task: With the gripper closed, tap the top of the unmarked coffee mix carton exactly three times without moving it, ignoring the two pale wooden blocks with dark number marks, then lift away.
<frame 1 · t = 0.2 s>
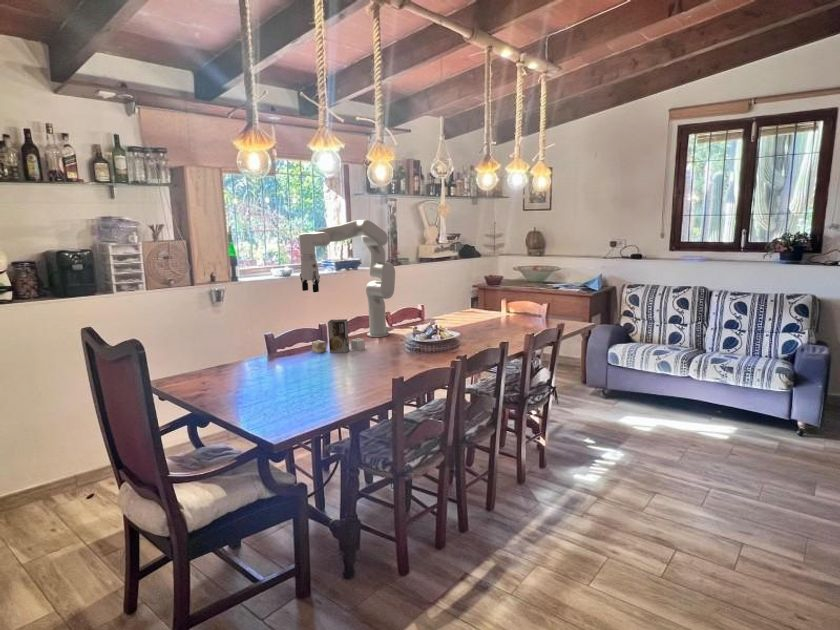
hand: (310, 291, 273), 31 cm above the table, fingers open, 9 cm apart
birch block marked: (319, 351, 276), on the table
grey block marked: (358, 349, 279), on the table
coffee box: (339, 351, 276), on the table
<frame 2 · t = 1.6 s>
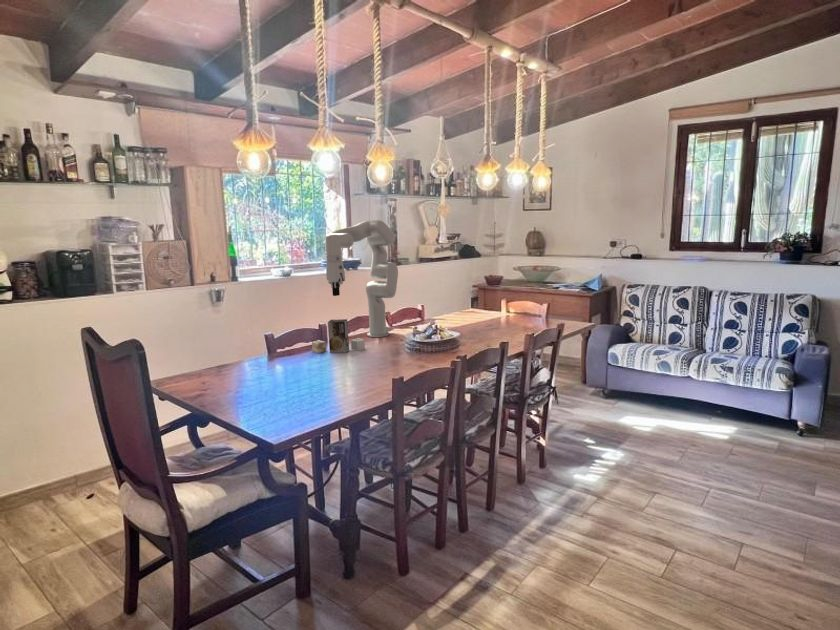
hand: (336, 295, 270), 29 cm above the table, fingers closed
nothing on the table moved.
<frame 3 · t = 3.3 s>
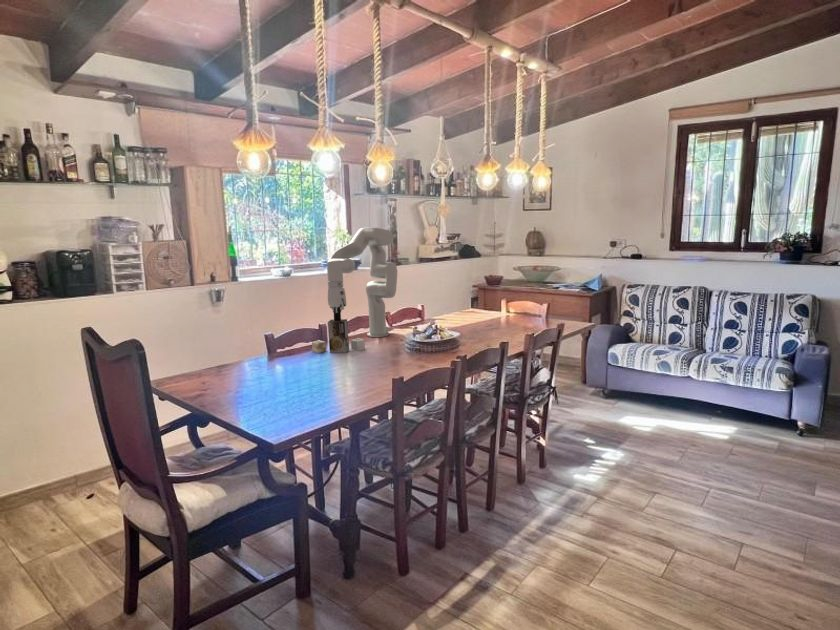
hand: (337, 320, 272), 16 cm above the table, fingers closed
coffee box: (339, 351, 276), on the table, touching gripper
everything else where it was.
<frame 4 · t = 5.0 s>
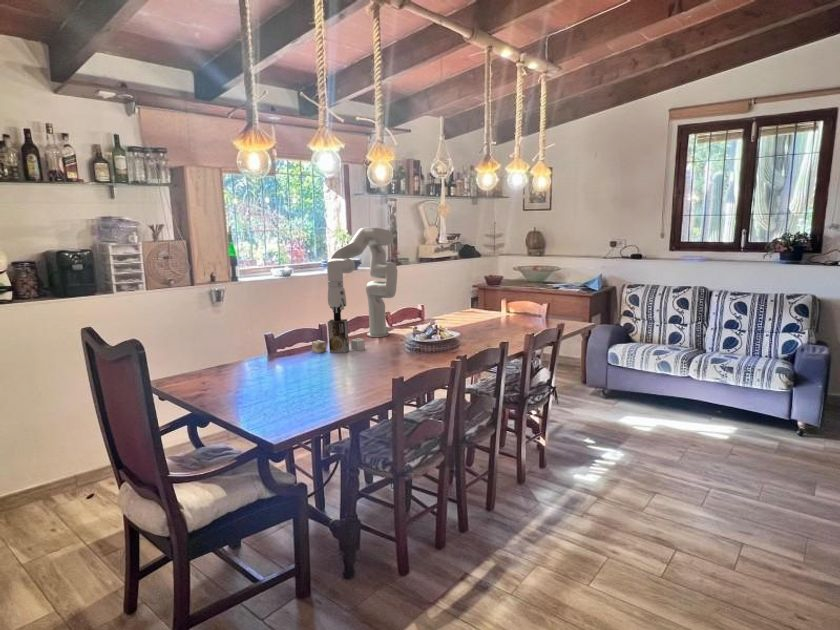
hand: (337, 320, 272), 16 cm above the table, fingers closed
nothing on the table moved.
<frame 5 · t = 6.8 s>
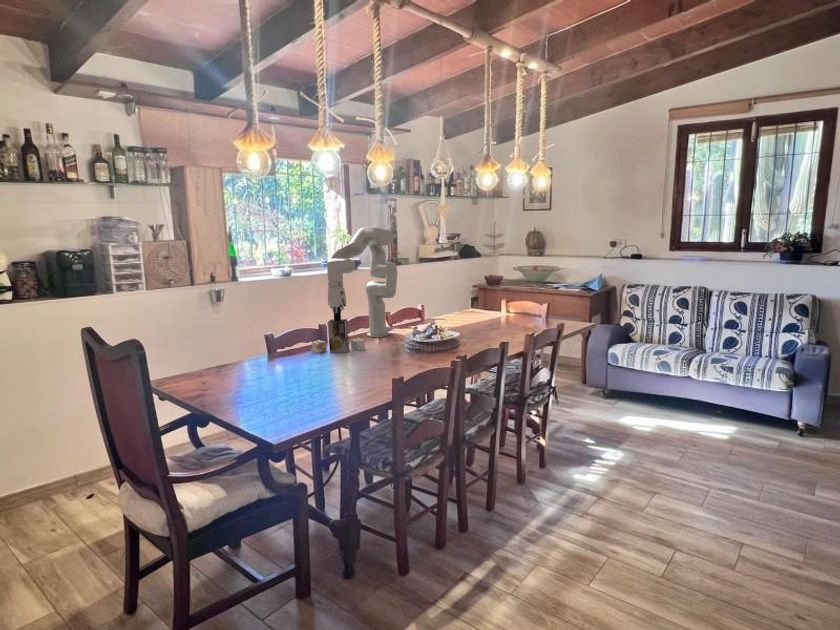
hand: (337, 320, 272), 16 cm above the table, fingers closed
nothing on the table moved.
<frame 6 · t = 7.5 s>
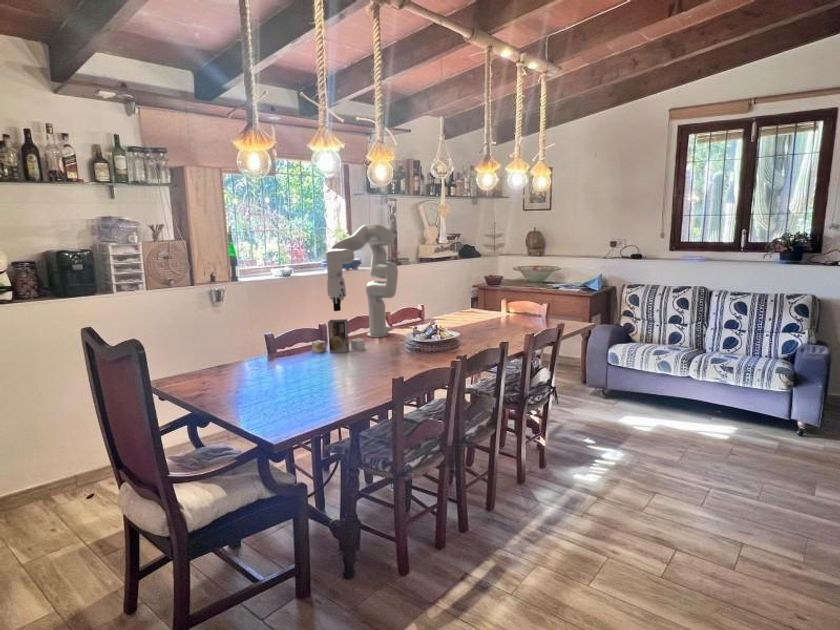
hand: (337, 310, 272), 21 cm above the table, fingers closed
coffee box: (339, 351, 276), on the table
everything else where it was.
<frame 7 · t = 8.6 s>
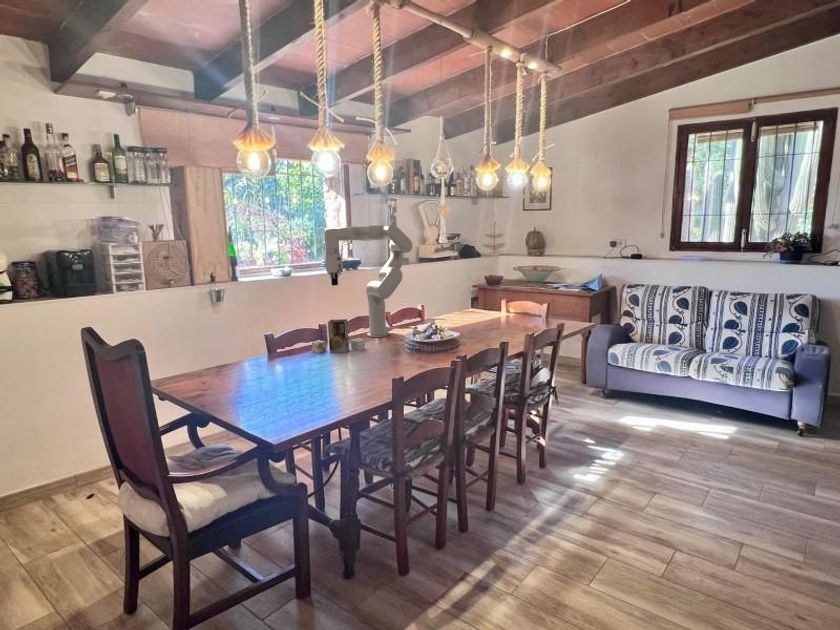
hand: (334, 285, 290), 32 cm above the table, fingers closed
nothing on the table moved.
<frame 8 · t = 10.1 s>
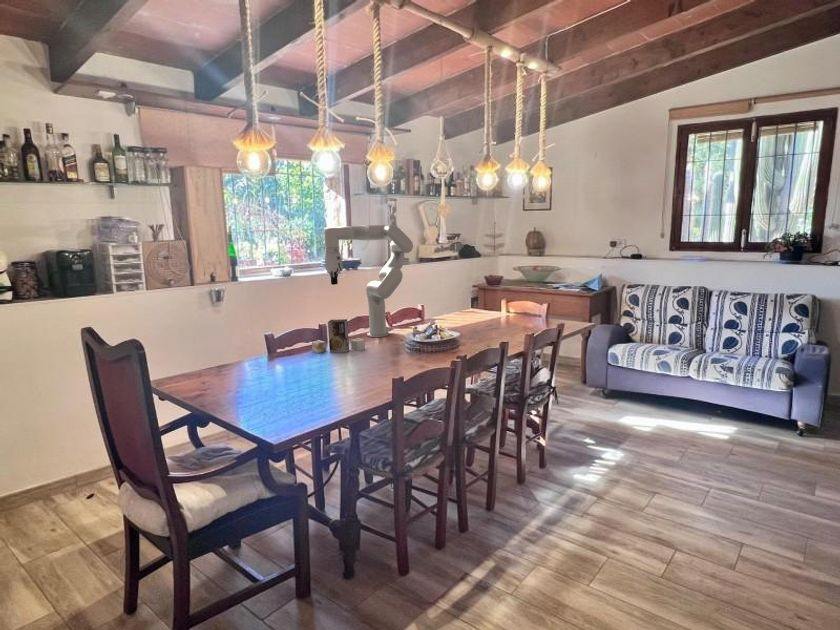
hand: (334, 284, 291), 32 cm above the table, fingers closed
nothing on the table moved.
at the end: coffee box moved 0.2 cm from its start; coffee box tilted 0°; coffee box touching table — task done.
